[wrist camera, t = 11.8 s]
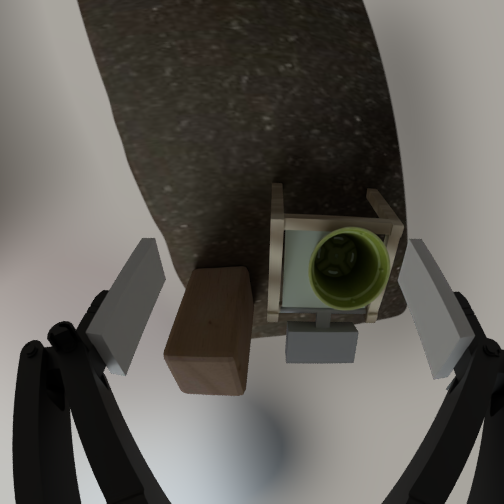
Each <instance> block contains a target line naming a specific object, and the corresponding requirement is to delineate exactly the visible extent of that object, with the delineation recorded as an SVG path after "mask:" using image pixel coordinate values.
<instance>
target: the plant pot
mask: <svg viewBox="0 0 504 504" xmlns="http://www.w3.org/2000/svg"><path fill="white" fill-rule="evenodd" d="M334 237H342V238H343V240H339V239H334ZM320 248H321V252H320V258H318V250H319V249H320ZM352 253H354V259H353V261H352V262H350V261H351V258H352ZM335 254H338V257H337V258H336V257H335ZM329 270H330V271H337V272H338V273H337V274H331V273H329V272H328V271H329ZM389 275H390V258H389V254H388V251H387V249H386V247H385V245H384V243H383V242H382V241H381V239H380V238H379V237H378V236H377V235H376V234H374V233H373V232H371V231H369V230H367V229H364V228H360V227H344V228H340V229H337V230H334V231H333V232H331V233H329V234H328V235H326V236H325V237H323V238H322V239H321V240H320V241H319V242H318V244H317V245H316V247H315V248H314V250H313V252H312V254H311V257H310V261H309V267H308V276H309V282H310V285H311V288H312V290H313V292H314V293H315V295H316V296H317V298H318V299H319V300H320V301H321V302H323V303H324V304H325V305H327V306H329V307H331V308H334V309H337V310H355V309H359V308H362V307H364V306H366V305H368V304H370V303H371V302H373V301H374V300H375V299H376V298H377V297H378V296H379V295H380V294H381V293H382V291H383V290H384V288H385V286H386V284H387V282H388V279H389Z"/></svg>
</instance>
